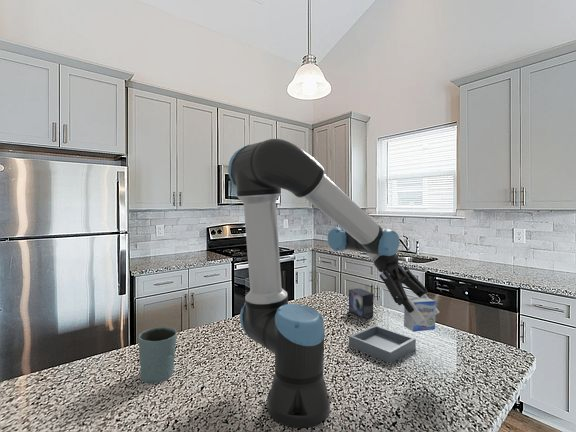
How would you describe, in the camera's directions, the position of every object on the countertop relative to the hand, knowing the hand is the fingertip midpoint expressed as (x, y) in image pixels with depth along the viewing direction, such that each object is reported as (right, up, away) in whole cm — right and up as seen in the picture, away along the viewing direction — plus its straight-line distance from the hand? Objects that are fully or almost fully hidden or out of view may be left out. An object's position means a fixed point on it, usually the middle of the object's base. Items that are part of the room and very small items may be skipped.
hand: (428, 318), depth 93 cm
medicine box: (-2, -4, +2) cm, 5 cm away
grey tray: (-9, -15, +16) cm, 24 cm away
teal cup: (-78, -16, -3) cm, 80 cm away
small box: (-9, -15, +50) cm, 53 cm away
